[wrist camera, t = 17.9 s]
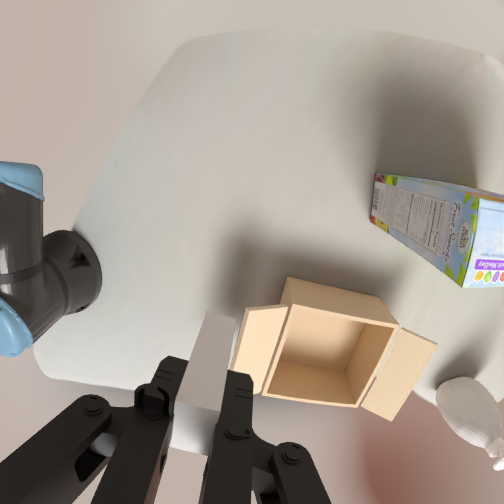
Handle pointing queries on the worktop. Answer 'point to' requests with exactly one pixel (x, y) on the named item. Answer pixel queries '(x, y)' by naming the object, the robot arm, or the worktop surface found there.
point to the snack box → (445, 226)
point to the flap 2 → (399, 374)
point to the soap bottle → (472, 414)
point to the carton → (328, 344)
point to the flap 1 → (258, 341)
